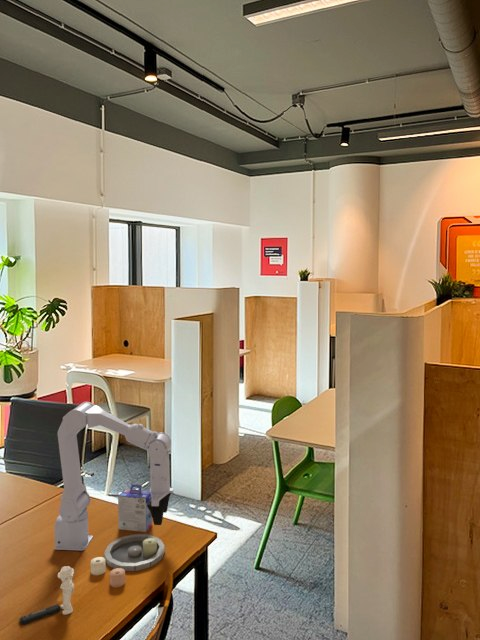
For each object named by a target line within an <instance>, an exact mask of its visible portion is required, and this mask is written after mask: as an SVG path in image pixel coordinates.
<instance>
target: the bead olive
mask: <svg viewBox="0 0 480 640" xmlns="http://www.w3.org/2000/svg"><path fill="white" fill-rule="evenodd" d="M156 554H157V541H156V539H153V538H148V539H145V540H144V541H143V556H144V557H145V558H151V557H153V556H154V555H156Z"/></svg>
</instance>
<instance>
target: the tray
mask: <svg viewBox="0 0 480 640" xmlns="http://www.w3.org/2000/svg"><path fill="white" fill-rule="evenodd" d="M148 538H153V539H156V541H157V554H156V555H154V556H153V557H151V558H145V557H144V556H143V541H144V540H145V539H148ZM165 552H166V545H165V544H164V542H163V541H162V539H161V538H159V537H157V536H154V535H151V534H145V533H143V534H142V533H134V534H129V535H125V536H121V537H119V538H117V539H115V540H113V541H112V542H110V543H109V544H108V545H107V547H106V549H105V550H104V552H103V554H104V557H103V558H105V563H106V564H107V566H108V567H111V568H112V569H116V568H122V569H124V570H125V572H136V571H141V570H142V571H143V570H145V569H149V568H151V567H154V566H155V565H156V564H158V562H160V561H162V559H163V557H164V555H165Z"/></svg>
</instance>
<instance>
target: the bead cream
mask: <svg viewBox="0 0 480 640" xmlns="http://www.w3.org/2000/svg"><path fill="white" fill-rule="evenodd" d="M106 564H107V562H106V560H105V558H104V557H103V556H96V557H94V558H92V559H91V560H90V573H91V575H93V576H101V575H103V574H105V572H106V570H107V569H106Z"/></svg>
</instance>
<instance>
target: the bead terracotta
mask: <svg viewBox="0 0 480 640" xmlns="http://www.w3.org/2000/svg"><path fill="white" fill-rule="evenodd" d="M125 584H126V571H125V570H124V569H122V568H116V569H114V568H112V570H111V571H110V572H109V585H110V587H112V588H116V589H117V588H121V587H123V586H124V585H125Z"/></svg>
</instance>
